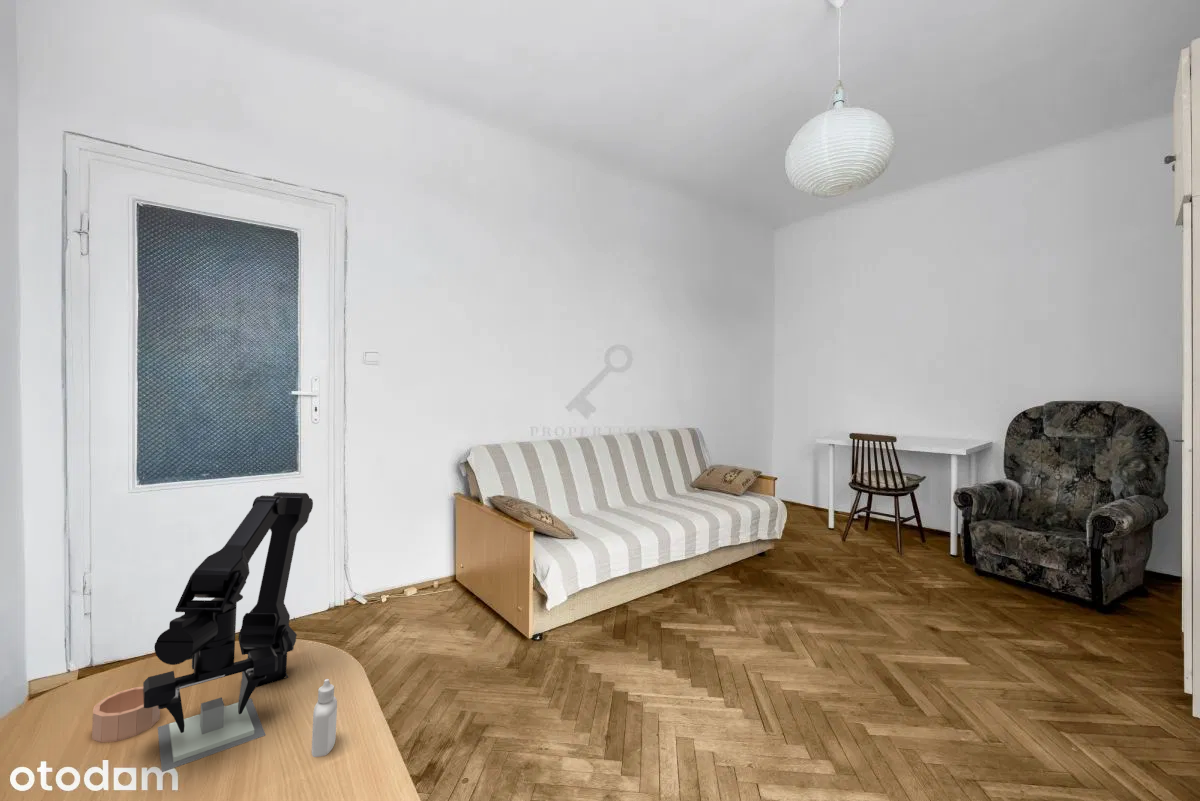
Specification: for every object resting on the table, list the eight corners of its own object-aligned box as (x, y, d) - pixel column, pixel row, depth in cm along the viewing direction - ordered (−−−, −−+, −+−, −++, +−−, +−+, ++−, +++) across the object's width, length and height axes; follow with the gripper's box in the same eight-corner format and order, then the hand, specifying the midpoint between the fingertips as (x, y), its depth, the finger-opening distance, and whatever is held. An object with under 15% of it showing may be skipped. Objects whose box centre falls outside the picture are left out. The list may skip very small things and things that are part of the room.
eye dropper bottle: (345, 740, 91) (349, 673, 91) (321, 762, 85) (324, 691, 85) (325, 735, 92) (328, 669, 92) (300, 756, 86) (303, 686, 86)
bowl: (158, 707, 97) (159, 681, 97) (160, 730, 91) (161, 702, 91) (93, 725, 91) (94, 698, 91) (90, 752, 85) (92, 722, 85)
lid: (243, 704, 98) (244, 680, 98) (254, 734, 90) (255, 707, 90) (169, 727, 91) (170, 701, 91) (173, 762, 83) (174, 733, 83)
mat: (251, 701, 101) (251, 698, 101) (265, 738, 90) (265, 735, 90) (157, 730, 91) (157, 727, 91) (161, 775, 81) (161, 771, 81)
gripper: (267, 606, 103) (264, 683, 103) (143, 632, 90) (140, 720, 90) (280, 626, 95) (276, 710, 95) (146, 658, 82) (141, 754, 82)
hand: (211, 722), depth 91 cm, fingers open, 8 cm apart
